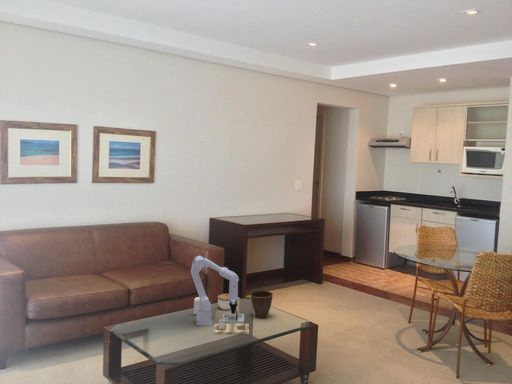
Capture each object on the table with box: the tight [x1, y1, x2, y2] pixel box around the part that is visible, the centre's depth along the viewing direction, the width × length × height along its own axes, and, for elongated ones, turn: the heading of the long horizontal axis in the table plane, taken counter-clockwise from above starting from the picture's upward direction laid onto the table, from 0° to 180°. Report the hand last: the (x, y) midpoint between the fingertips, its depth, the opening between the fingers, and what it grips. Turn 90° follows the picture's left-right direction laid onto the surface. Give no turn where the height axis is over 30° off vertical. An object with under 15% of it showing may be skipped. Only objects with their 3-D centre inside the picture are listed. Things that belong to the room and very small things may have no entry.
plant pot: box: [250, 290, 274, 319], centre depth 327 cm, size 15×15×16 cm
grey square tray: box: [222, 313, 245, 324], centre depth 318 cm, size 14×14×2 cm
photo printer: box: [193, 296, 209, 315], centre depth 330 cm, size 10×4×12 cm, turn 98°
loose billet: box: [228, 310, 239, 321], centre depth 318 cm, size 4×6×6 cm, turn 92°
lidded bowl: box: [217, 292, 231, 311], centre depth 343 cm, size 13×13×11 cm
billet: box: [218, 318, 226, 330], centre depth 302 cm, size 4×6×6 cm, turn 2°
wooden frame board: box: [212, 323, 250, 335], centre depth 302 cm, size 22×14×2 cm, turn 92°
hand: (233, 311), depth 318 cm, fingers open, 7 cm apart
